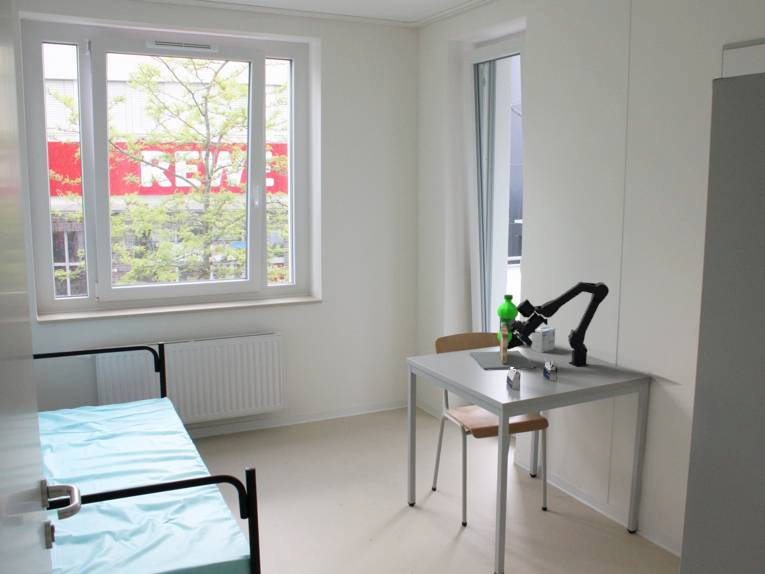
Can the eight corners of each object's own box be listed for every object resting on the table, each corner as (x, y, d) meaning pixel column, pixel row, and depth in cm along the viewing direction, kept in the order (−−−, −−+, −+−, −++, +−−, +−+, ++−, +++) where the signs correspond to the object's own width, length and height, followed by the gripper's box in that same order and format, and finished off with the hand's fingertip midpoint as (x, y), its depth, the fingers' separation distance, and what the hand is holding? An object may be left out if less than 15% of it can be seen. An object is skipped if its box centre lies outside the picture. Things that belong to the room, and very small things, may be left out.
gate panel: (499, 353, 324) (500, 326, 321) (505, 353, 323) (506, 326, 321) (501, 363, 307) (502, 334, 305) (507, 363, 307) (508, 334, 305)
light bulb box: (543, 346, 343) (544, 325, 341) (555, 349, 337) (556, 328, 336) (530, 350, 336) (531, 328, 334) (541, 353, 331) (542, 331, 329)
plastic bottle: (492, 342, 349) (493, 295, 345) (506, 339, 356) (508, 292, 351) (506, 347, 341) (508, 298, 337) (521, 343, 348) (523, 295, 343)
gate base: (517, 352, 331) (519, 320, 328) (536, 368, 305) (537, 333, 302) (469, 354, 328) (470, 321, 325) (483, 369, 302) (485, 334, 300)
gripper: (513, 308, 318) (489, 332, 319) (526, 317, 300) (501, 342, 301) (529, 324, 321) (505, 348, 321) (543, 334, 302) (517, 358, 303)
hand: (507, 348), depth 312 cm, fingers closed
